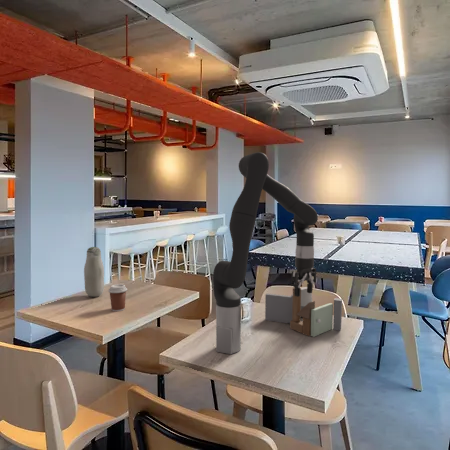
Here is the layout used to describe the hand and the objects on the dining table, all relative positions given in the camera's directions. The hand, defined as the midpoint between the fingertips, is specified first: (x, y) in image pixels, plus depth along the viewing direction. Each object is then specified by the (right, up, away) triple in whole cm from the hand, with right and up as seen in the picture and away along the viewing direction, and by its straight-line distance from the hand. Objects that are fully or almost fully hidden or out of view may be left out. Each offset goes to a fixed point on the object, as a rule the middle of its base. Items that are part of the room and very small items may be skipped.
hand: (303, 294), depth 161 cm
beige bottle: (-106, -11, +55) cm, 120 cm away
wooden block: (0, -16, +2) cm, 16 cm away
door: (+8, -16, 0) cm, 18 cm away
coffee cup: (-86, -13, +32) cm, 93 cm away
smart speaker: (+4, -14, +23) cm, 28 cm away
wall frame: (+1, -15, +11) cm, 18 cm away
